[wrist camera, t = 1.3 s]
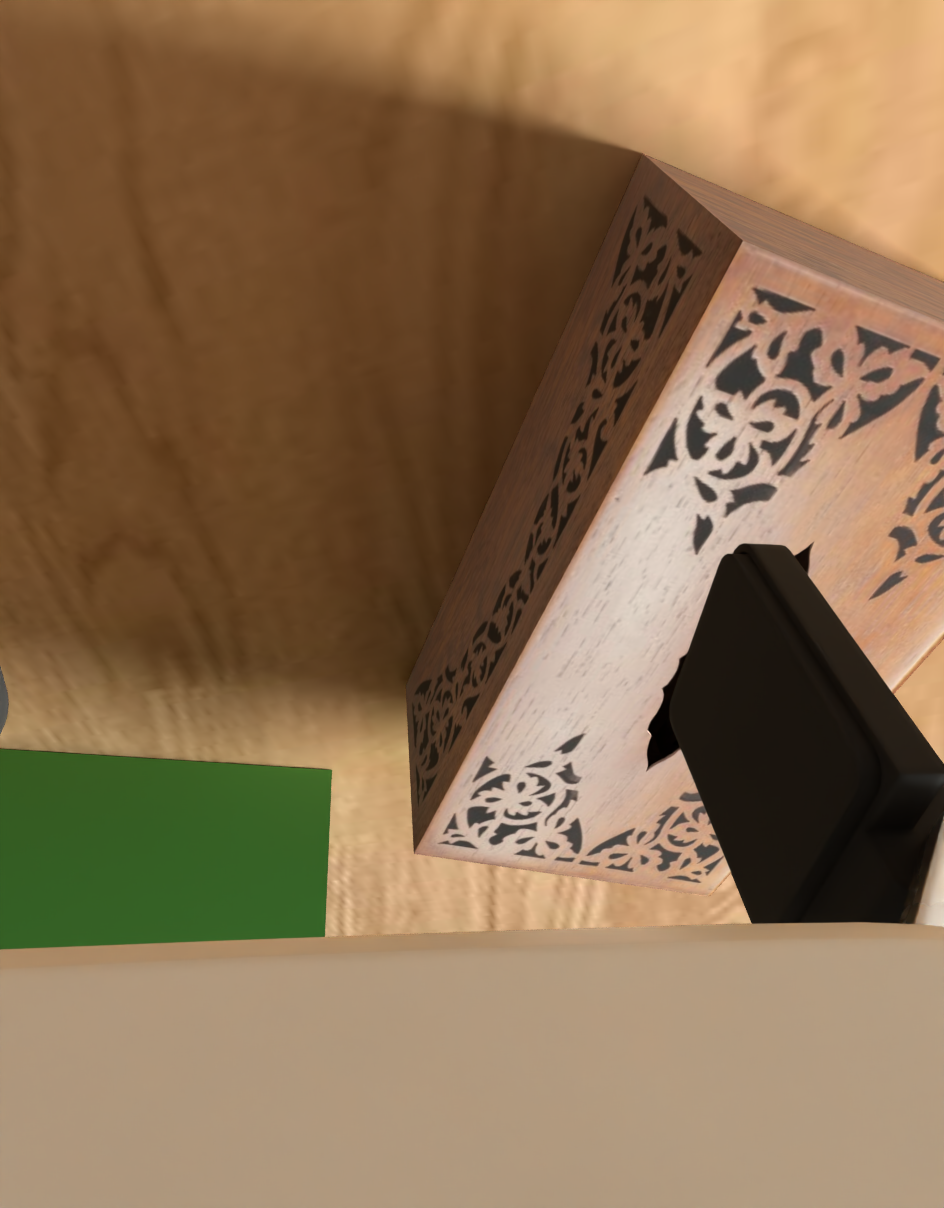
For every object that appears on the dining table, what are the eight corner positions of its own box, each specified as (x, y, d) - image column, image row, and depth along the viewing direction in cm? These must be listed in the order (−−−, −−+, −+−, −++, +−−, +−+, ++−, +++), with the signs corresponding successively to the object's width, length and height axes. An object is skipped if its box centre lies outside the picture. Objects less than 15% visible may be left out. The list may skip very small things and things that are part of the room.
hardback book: (-3, 837, 48) (-241, 1429, 29) (-21, 747, 43) (-316, 1377, 25) (318, 851, 51) (290, 1387, 33) (331, 769, 47) (307, 1335, 28)
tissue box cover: (642, 153, 29) (743, 240, 21) (969, 293, 33) (1152, 408, 25) (405, 685, 43) (413, 853, 36) (654, 736, 48) (709, 896, 40)
